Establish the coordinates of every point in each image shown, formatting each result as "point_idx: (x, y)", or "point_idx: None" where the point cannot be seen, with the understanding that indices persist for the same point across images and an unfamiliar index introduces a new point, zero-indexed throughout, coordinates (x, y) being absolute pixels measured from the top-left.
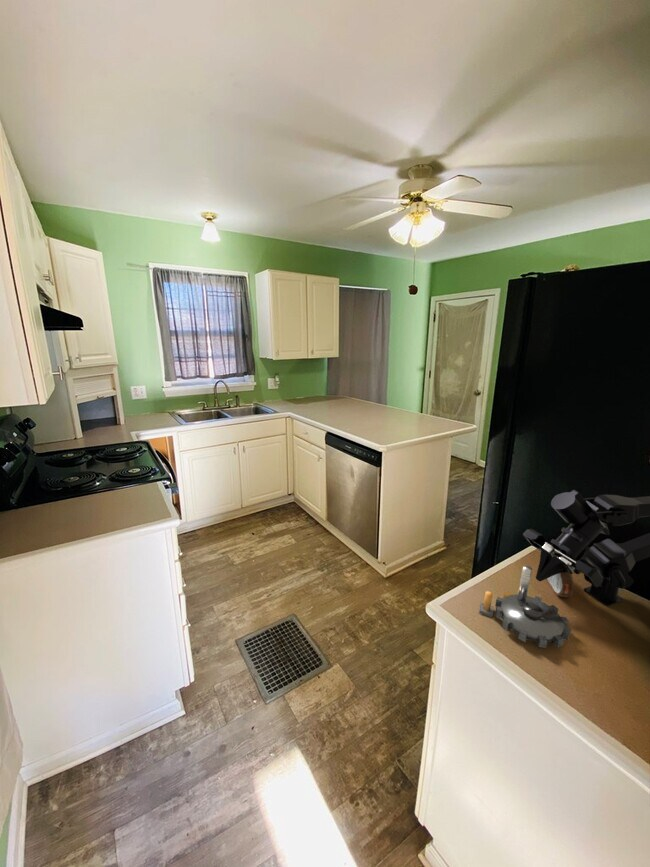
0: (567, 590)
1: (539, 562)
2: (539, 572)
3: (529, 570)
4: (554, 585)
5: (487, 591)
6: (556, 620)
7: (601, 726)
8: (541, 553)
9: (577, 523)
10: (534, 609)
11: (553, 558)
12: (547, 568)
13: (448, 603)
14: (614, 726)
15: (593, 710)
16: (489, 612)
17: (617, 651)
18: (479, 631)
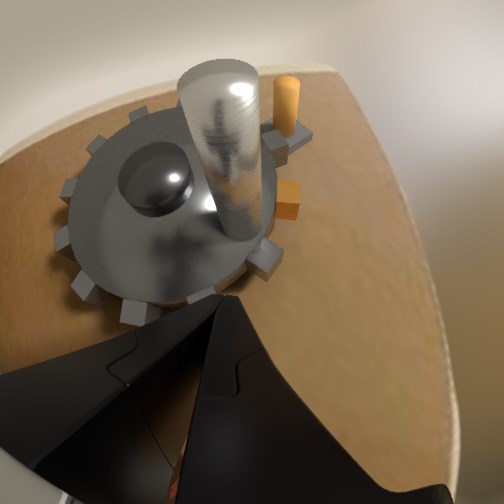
0: (175, 481)
1: (270, 359)
2: (222, 312)
3: (187, 74)
4: None
5: (297, 84)
6: (94, 246)
7: (20, 154)
8: (325, 447)
9: None
10: (145, 172)
11: (49, 427)
12: (143, 336)
13: (339, 86)
14: (9, 171)
15: (26, 162)
16: (266, 126)
17: (23, 362)
18: None
